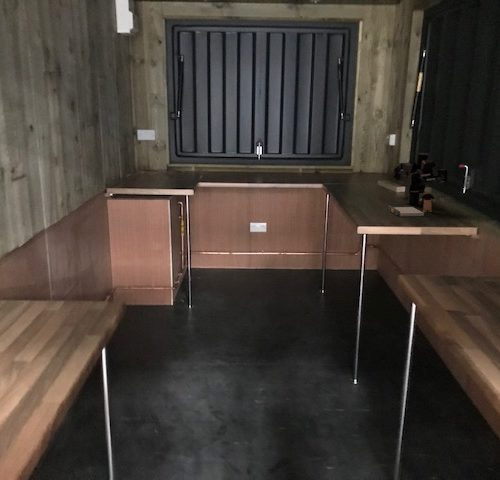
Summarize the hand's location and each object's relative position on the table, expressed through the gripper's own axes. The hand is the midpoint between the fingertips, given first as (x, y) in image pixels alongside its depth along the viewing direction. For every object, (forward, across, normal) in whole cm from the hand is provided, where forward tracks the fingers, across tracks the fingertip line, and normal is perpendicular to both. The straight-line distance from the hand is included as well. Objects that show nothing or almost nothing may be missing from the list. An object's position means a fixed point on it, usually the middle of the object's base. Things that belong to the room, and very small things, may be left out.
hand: (435, 181), depth 250 cm
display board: (-1, -15, +15) cm, 21 cm away
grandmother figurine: (-4, -3, +17) cm, 17 cm away
